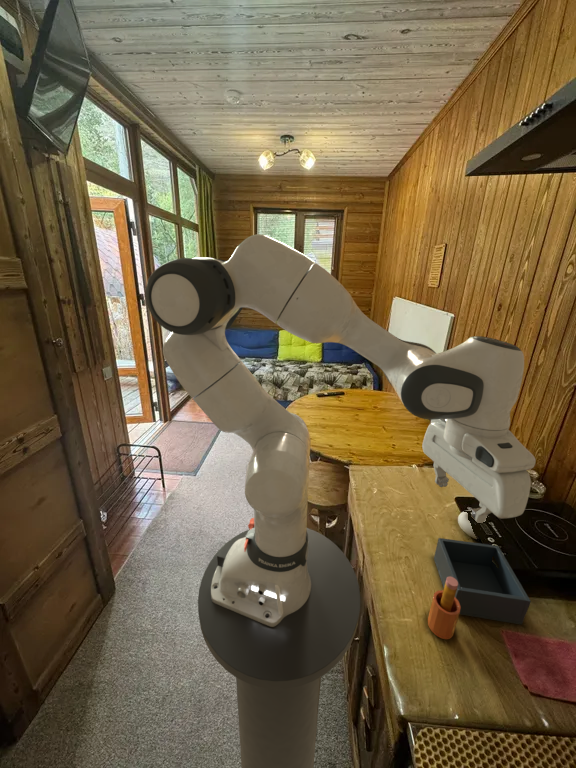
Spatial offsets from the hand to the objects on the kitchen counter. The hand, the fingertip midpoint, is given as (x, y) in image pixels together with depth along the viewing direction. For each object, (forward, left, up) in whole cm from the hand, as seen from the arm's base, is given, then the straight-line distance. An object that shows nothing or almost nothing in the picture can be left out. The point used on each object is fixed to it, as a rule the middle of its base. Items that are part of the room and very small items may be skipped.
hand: (457, 500), depth 56 cm
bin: (+11, +7, -29) cm, 31 cm away
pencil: (+1, -3, -28) cm, 28 cm away
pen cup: (+1, -3, -29) cm, 29 cm away
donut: (+19, +26, -29) cm, 43 cm away
